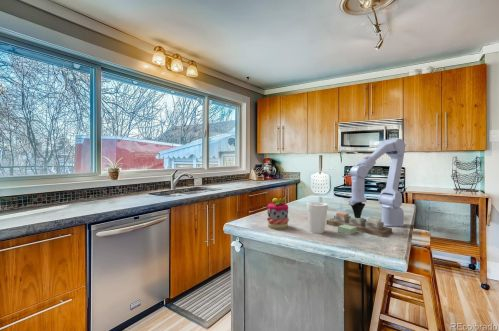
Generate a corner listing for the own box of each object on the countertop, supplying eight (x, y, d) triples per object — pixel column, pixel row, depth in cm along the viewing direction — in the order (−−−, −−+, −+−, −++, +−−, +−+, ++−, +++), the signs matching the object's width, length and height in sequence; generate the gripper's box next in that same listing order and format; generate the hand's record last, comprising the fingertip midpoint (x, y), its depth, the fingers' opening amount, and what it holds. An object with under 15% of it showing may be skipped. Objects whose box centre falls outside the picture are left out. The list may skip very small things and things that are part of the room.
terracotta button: (348, 219, 130) (348, 213, 130) (344, 220, 127) (344, 214, 127) (340, 217, 134) (340, 211, 134) (336, 218, 131) (336, 213, 131)
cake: (263, 227, 125) (264, 197, 124) (272, 222, 134) (272, 194, 134) (284, 230, 120) (284, 199, 120) (291, 225, 129) (291, 196, 129)
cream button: (381, 225, 118) (381, 219, 118) (377, 227, 115) (377, 220, 115) (371, 223, 122) (371, 217, 121) (367, 225, 119) (367, 218, 119)
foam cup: (323, 235, 113) (324, 206, 112) (303, 232, 117) (304, 204, 117) (329, 230, 121) (329, 203, 120) (310, 227, 126) (310, 201, 125)
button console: (392, 232, 117) (392, 222, 117) (383, 236, 111) (383, 226, 111) (336, 220, 138) (336, 212, 138) (326, 224, 132) (326, 215, 132)
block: (356, 232, 118) (356, 226, 118) (350, 234, 114) (350, 229, 114) (344, 229, 122) (344, 224, 122) (337, 231, 118) (338, 226, 118)
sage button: (363, 223, 124) (364, 217, 124) (359, 225, 121) (359, 219, 121) (355, 222, 128) (355, 216, 128) (350, 223, 125) (351, 217, 125)
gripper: (357, 188, 132) (356, 214, 132) (342, 190, 122) (342, 218, 123) (370, 189, 126) (370, 216, 127) (357, 192, 117) (356, 221, 117)
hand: (357, 217), depth 124 cm, fingers closed, pressing on sage button
